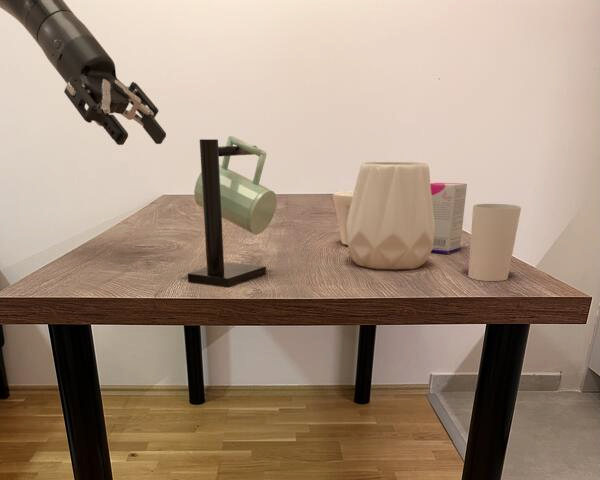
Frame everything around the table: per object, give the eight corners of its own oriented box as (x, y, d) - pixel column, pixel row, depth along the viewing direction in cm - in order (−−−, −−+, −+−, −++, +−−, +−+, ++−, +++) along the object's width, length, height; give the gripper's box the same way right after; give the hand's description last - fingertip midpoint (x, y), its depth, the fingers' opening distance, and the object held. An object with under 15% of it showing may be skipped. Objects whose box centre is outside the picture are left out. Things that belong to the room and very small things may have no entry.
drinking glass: (467, 280, 92) (475, 208, 88) (463, 271, 98) (470, 203, 94) (514, 282, 91) (525, 209, 87) (507, 273, 97) (517, 204, 93)
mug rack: (228, 287, 88) (222, 139, 80) (188, 282, 91) (177, 139, 83) (278, 270, 99) (276, 138, 91) (240, 266, 102) (235, 138, 94)
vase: (326, 262, 104) (329, 162, 98) (384, 253, 113) (390, 160, 106) (392, 276, 95) (399, 166, 88) (449, 264, 103) (460, 163, 97)
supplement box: (460, 250, 116) (468, 182, 111) (448, 254, 111) (455, 184, 106) (431, 247, 119) (437, 181, 114) (418, 251, 114) (423, 183, 109)
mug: (246, 237, 90) (190, 208, 92) (269, 231, 95) (216, 204, 97) (266, 159, 84) (206, 130, 86) (290, 157, 89) (233, 130, 91)
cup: (359, 251, 114) (362, 196, 110) (321, 244, 121) (321, 192, 117) (395, 245, 120) (399, 193, 116) (356, 239, 127) (358, 189, 123)
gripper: (100, 79, 103) (162, 158, 103) (28, 72, 92) (98, 160, 92) (121, 39, 99) (186, 121, 99) (48, 27, 87) (121, 119, 87)
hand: (143, 140), depth 95 cm, fingers open, 8 cm apart
